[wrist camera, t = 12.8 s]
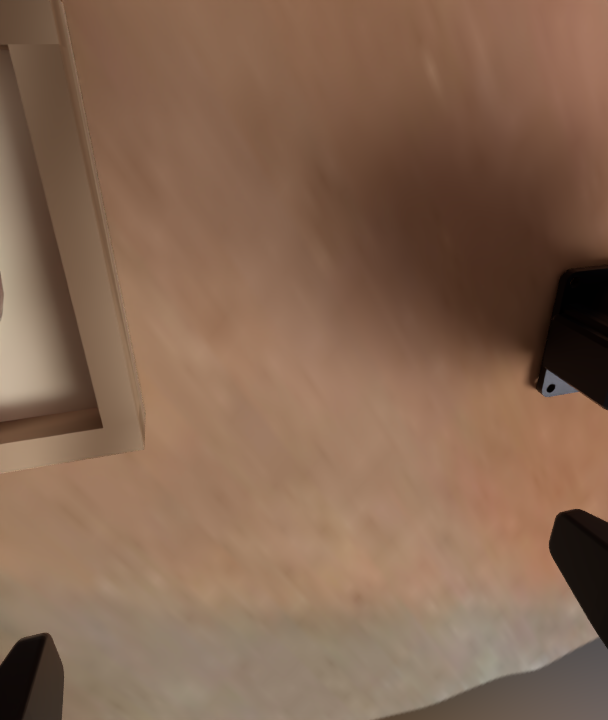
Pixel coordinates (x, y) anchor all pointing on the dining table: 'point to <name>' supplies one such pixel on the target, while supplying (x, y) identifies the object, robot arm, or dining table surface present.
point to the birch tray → (56, 262)
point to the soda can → (1, 297)
